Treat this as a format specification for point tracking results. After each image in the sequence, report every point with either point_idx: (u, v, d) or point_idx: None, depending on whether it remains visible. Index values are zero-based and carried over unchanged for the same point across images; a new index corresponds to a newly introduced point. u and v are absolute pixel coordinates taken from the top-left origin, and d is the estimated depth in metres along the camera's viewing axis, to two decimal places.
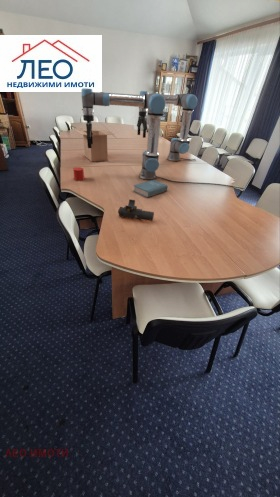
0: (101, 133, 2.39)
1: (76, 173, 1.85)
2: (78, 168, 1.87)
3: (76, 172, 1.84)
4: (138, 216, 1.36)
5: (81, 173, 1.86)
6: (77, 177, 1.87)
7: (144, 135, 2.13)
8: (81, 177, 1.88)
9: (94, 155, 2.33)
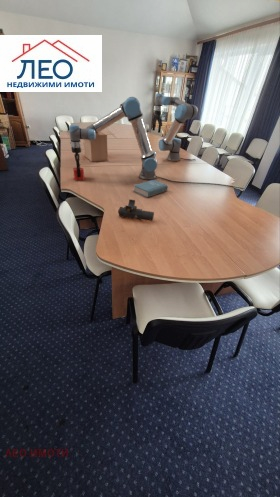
0: (101, 133, 2.39)
1: (76, 173, 1.85)
2: None
3: (76, 172, 1.84)
4: (138, 216, 1.36)
5: (81, 173, 1.86)
6: (77, 177, 1.87)
7: (159, 130, 2.52)
8: (81, 177, 1.88)
9: (94, 155, 2.33)
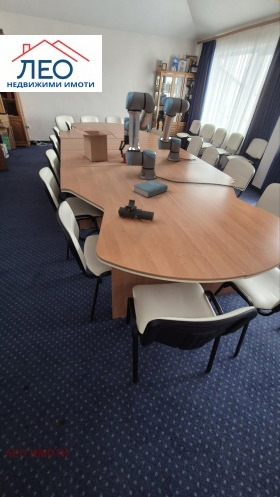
0: (101, 133, 2.39)
1: (123, 156, 2.39)
2: None
3: (123, 154, 2.38)
4: (138, 216, 1.36)
5: (124, 157, 2.36)
6: (123, 159, 2.40)
7: (162, 129, 2.64)
8: (124, 160, 2.38)
9: (94, 155, 2.33)
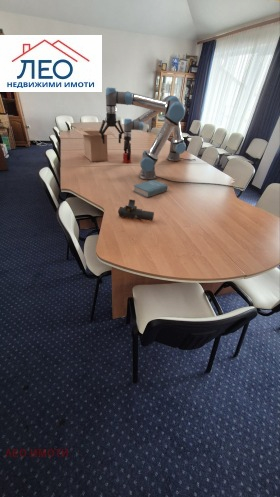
0: None
1: (123, 156, 2.39)
2: None
3: (123, 155, 2.38)
4: (138, 216, 1.36)
5: (124, 157, 2.36)
6: (123, 159, 2.40)
7: (128, 158, 2.36)
8: (124, 160, 2.38)
9: (94, 155, 2.33)
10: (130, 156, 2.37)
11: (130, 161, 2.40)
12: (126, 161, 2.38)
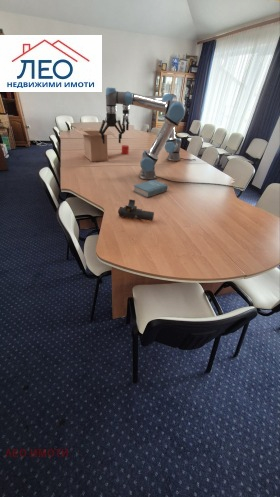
0: None
1: None
2: (126, 146, 2.67)
3: None
4: (138, 216, 1.36)
5: (122, 148, 2.67)
6: None
7: (123, 130, 2.50)
8: None
9: (94, 155, 2.33)
10: (126, 148, 2.65)
11: (126, 153, 2.68)
12: (122, 152, 2.68)
